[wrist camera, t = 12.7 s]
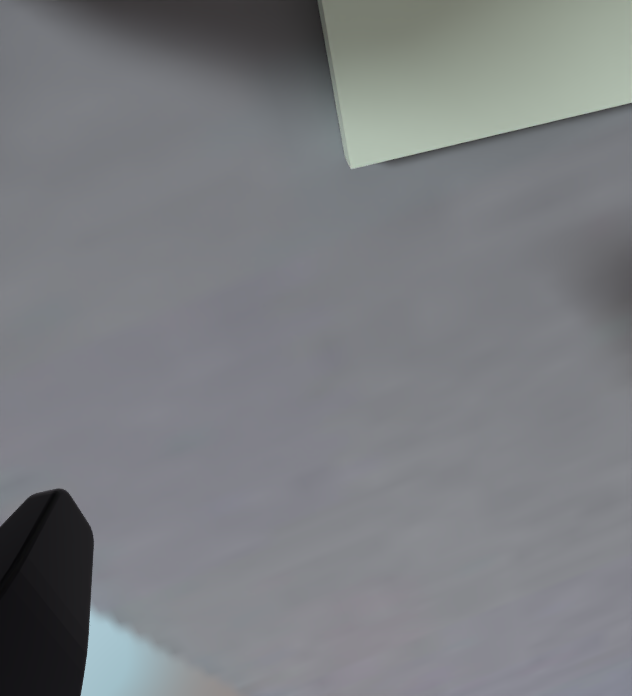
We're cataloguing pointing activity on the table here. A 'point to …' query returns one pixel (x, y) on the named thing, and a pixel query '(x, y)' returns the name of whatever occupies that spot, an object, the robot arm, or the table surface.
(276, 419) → the table surface
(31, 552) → the robot arm
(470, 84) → the green pad
